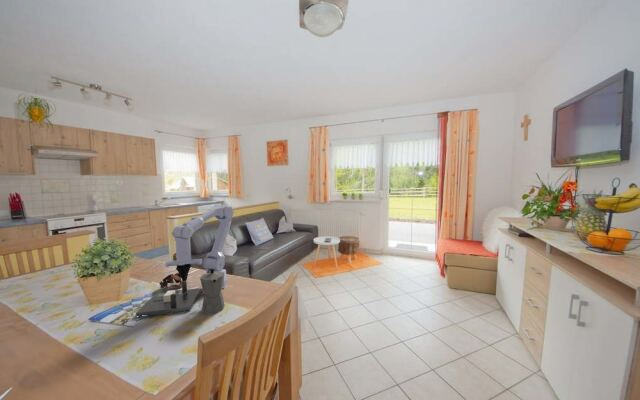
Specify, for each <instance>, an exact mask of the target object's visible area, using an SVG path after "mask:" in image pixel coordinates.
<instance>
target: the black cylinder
mask: <svg viewBox="0 0 640 400" xmlns="http://www.w3.org/2000/svg"><path fill="white" fill-rule="evenodd" d="M170 298H171V307H175V306H176V294H172V295H170Z"/></svg>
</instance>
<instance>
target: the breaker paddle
mask: <svg viewBox="0 0 640 400" xmlns="http://www.w3.org/2000/svg"><path fill="white" fill-rule="evenodd" d="M175 291H176V290H175V289H174V290H173V289H172V290H167V291H166V292H167V293H166V294H165V295H164V296H163V300H164V302H171V298H170V295H172V294H175Z"/></svg>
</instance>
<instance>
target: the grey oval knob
mask: <svg viewBox="0 0 640 400" xmlns="http://www.w3.org/2000/svg"><path fill="white" fill-rule="evenodd" d="M181 281H182V280H181ZM187 283H188V281H187V280H186V281H182V288H181V290H182V292H187V289H188V286H187Z"/></svg>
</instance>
